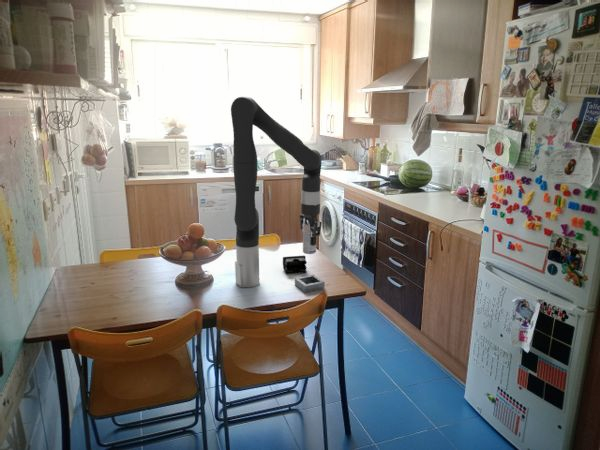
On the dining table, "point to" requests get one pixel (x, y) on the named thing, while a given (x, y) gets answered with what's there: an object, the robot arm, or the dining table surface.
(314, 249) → the energy drink
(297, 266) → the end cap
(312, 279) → the metal collar
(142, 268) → the dining table surface
